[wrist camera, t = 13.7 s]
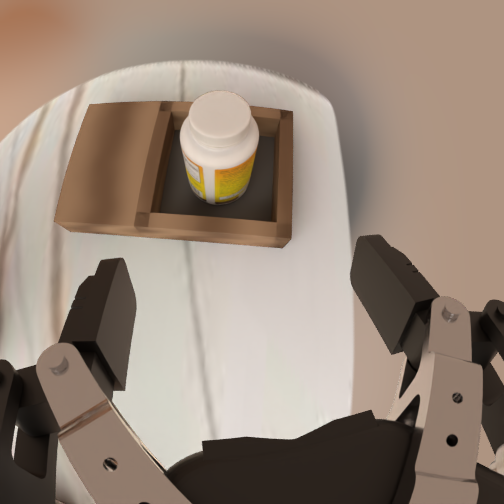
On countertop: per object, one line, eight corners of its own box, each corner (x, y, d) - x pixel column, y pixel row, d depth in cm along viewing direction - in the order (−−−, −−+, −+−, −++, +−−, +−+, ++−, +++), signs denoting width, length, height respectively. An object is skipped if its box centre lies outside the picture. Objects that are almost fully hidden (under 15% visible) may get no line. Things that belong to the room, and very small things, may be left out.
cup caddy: (70, 231, 25) (53, 221, 22) (99, 122, 28) (89, 104, 25) (282, 248, 27) (291, 238, 24) (285, 131, 30) (292, 111, 26)
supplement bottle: (257, 163, 28) (275, 95, 18) (237, 215, 27) (247, 161, 17) (202, 146, 28) (197, 73, 18) (179, 195, 27) (160, 134, 17)
